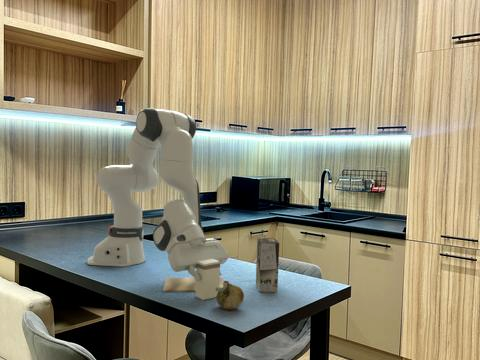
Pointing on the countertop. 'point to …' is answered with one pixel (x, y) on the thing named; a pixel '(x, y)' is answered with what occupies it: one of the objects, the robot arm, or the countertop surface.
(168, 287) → the mat
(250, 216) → the countertop surface
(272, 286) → the coffee box
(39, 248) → the countertop surface
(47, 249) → the countertop surface
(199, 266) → the card box
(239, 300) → the onion
